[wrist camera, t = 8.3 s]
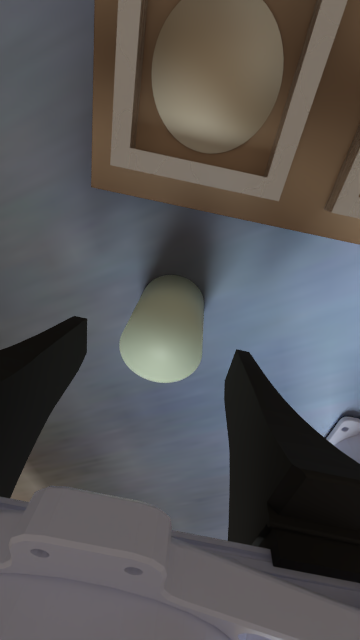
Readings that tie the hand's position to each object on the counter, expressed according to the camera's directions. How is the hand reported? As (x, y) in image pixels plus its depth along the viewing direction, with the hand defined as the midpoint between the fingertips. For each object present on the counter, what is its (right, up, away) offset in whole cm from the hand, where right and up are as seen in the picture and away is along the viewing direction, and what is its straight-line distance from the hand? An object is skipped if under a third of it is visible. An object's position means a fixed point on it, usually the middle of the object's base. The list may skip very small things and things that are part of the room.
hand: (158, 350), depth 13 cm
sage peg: (+1, +2, +4) cm, 5 cm away
